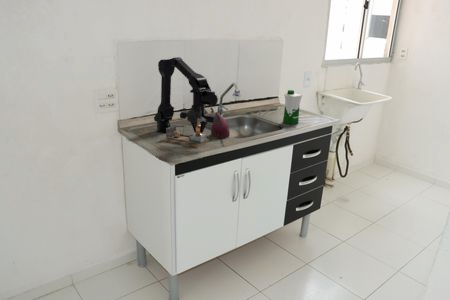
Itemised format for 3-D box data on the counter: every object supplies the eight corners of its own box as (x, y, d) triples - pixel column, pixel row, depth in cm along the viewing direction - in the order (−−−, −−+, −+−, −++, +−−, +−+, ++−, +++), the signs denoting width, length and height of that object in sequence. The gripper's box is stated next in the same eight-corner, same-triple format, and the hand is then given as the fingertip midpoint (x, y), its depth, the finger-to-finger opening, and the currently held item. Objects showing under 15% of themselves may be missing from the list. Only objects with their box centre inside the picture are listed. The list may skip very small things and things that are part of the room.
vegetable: (214, 144, 196) (209, 119, 188) (209, 136, 204) (204, 112, 197) (232, 138, 197) (228, 114, 190) (227, 131, 206) (222, 107, 199)
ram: (189, 141, 184) (189, 125, 182) (195, 137, 189) (195, 123, 187) (200, 143, 182) (201, 127, 179) (206, 139, 187) (206, 124, 184)
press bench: (163, 141, 187) (163, 129, 185) (176, 135, 198) (175, 124, 195) (198, 147, 180) (198, 135, 178) (208, 141, 190) (209, 129, 188)
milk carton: (289, 120, 237) (292, 89, 231) (300, 123, 231) (304, 91, 224) (280, 122, 232) (283, 90, 225) (291, 125, 225) (294, 93, 219)
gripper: (173, 103, 175) (174, 134, 181) (208, 108, 168) (207, 140, 174) (185, 99, 185) (185, 128, 190) (218, 103, 178) (217, 134, 183)
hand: (198, 133), depth 184 cm, fingers open, 3 cm apart
